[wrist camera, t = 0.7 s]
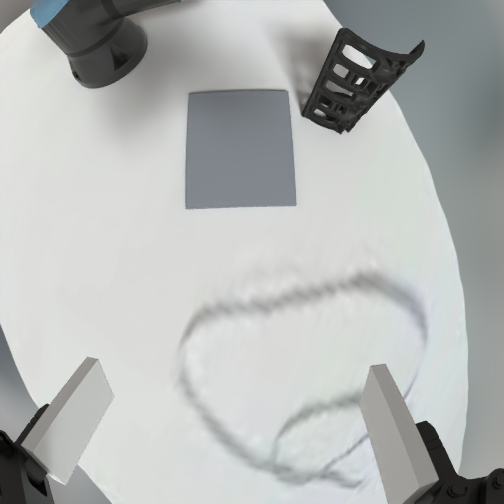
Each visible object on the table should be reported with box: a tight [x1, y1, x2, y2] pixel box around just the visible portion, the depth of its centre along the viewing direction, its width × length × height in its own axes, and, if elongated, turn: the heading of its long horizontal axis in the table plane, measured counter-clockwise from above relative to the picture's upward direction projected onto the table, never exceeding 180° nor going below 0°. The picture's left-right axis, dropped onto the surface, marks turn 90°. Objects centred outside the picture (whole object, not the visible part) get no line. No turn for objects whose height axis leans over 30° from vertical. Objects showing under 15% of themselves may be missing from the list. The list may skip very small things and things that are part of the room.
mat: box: [186, 91, 296, 209], centre depth 37 cm, size 18×15×1 cm
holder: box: [302, 28, 425, 134], centre depth 28 cm, size 11×8×20 cm
